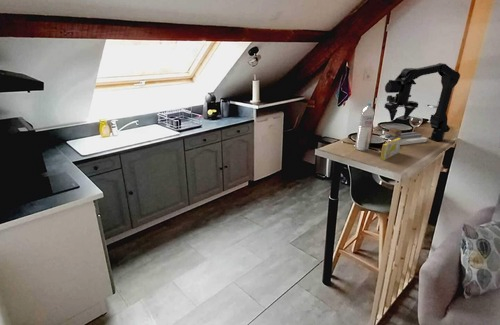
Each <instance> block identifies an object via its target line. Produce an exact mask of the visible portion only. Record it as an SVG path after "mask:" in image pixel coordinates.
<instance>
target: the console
mask: <svg viewBox="0 0 500 325" xmlns="http://www.w3.org/2000/svg"><path fill="white" fill-rule="evenodd" d="M379 136H380V137H382V138H385V139H388V140H391V141H392V140H394V139H397V138H401V143H400V146H403V145H411V144H420V143H426V142H427V141H428V137H424V136H423V134H421V133H418V132H417V131H411V132H401V135H400V136H396V137H392V135H390V134H384V135H383V134H382V135H379Z"/></svg>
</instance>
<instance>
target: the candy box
mask: <svg viewBox="0 0 500 325" xmlns="http://www.w3.org/2000/svg"><path fill="white" fill-rule="evenodd" d="M400 143H401V138H397V139H394V140H392V141H390V142H387V143H386V142H384V143H383V144H382V147H381V152H380V153H381V154H380V160H381V161H385V160H387V159H389V158H392V157H393V156H395V155H397V154H400V153H399V152H400V148H401V145H400Z"/></svg>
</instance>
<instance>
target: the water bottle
mask: <svg viewBox="0 0 500 325" xmlns="http://www.w3.org/2000/svg"><path fill="white" fill-rule="evenodd" d="M375 115H376V111H375V109H374V108H373V107H372V103H367V106H365V107H364V108H362V109H361V111H360V116H359V117H360V118H359V123H358V128H357V132H356V133H357V134H356V138H355V139H356V141H355V144H354V145H355V146H354V148H355V150H357V151H361V152H366V151H368V150H369V146H370V143H369V141H370V136H371V131H372V125H373V126H374V118H375Z"/></svg>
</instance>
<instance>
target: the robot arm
mask: <svg viewBox="0 0 500 325" xmlns="http://www.w3.org/2000/svg"><path fill="white" fill-rule="evenodd" d="M435 73H437V74H438V75H439V76H440V77H441V78H440V79H441V80H440V83H441V86H442V88H441V92H440V96H439V100H438V104H437V108H436V110H435V112H434V114H431V115H430V119H429V124H430V127H431V129H433V130H432V132H431V135H430V136H429V137H428V139H429V140H432V141H434V142H437V143H438V142H445V141H446V139H444V138H445V135H446V133H448V132H449V131H450V130H451V128H450V127H449V124H448V119H449V118H448V116H447V111H448V108H449V104H450V100H451V97H452V93H453V89H454V88H455V86H456V85H457V84H458V82H459V80H460V78H461V74H460V72H459V71H457V70H455V69H453V68H452V67H450V66H449V65H447V63H441V62H440V63H436V64H432V65H427V66H422V67H415V68H414V67H405V68H403V69H401V72H400V73H399V74H398V75H397V76H396V78H395V79H394V80H393V79H388V82H387V83H386V85H385V86H384V91H385V93H386V94H388V93H389V94H390V95H387V97H386V103H384V108H385V109H386V110H387V111H388V113H389V118H390V121H391V122H393V121H394V119H395V117H396V114H397V112H398V109H399V108H404V114H403V120H407V118H408V117H409V116H410V114H412V112H414V110H416V109H417V108H419V103H418V101H414V100H409V99H410V98H411V97H412V95H411V91H412V86H413V85H416V84H417V82H415V80H416V79H418V78H420V77H422V76H427V75H430V74H435ZM395 93H396V94H395ZM391 94H395V96H393V95H391Z"/></svg>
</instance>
